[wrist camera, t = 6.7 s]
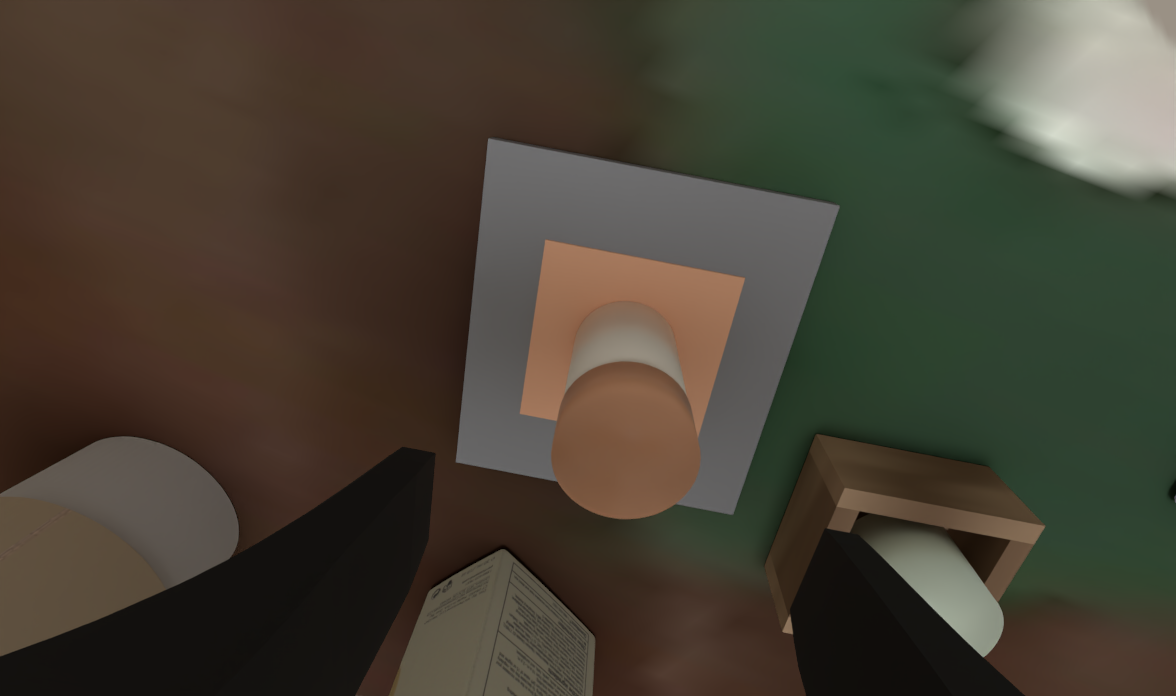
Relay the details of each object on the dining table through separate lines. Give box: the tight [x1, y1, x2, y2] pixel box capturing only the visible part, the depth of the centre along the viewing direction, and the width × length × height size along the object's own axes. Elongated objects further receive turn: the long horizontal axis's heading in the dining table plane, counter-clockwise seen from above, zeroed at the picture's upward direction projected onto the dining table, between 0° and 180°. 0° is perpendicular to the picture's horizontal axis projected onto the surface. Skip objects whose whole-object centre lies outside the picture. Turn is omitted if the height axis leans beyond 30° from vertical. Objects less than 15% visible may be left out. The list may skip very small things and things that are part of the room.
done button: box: [850, 513, 1004, 657], centre depth 18 cm, size 4×4×3 cm
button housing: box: [764, 434, 1045, 634], centre depth 20 cm, size 6×6×3 cm
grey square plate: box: [456, 137, 840, 515], centre depth 19 cm, size 10×11×1 cm
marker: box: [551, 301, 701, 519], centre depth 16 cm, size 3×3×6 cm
